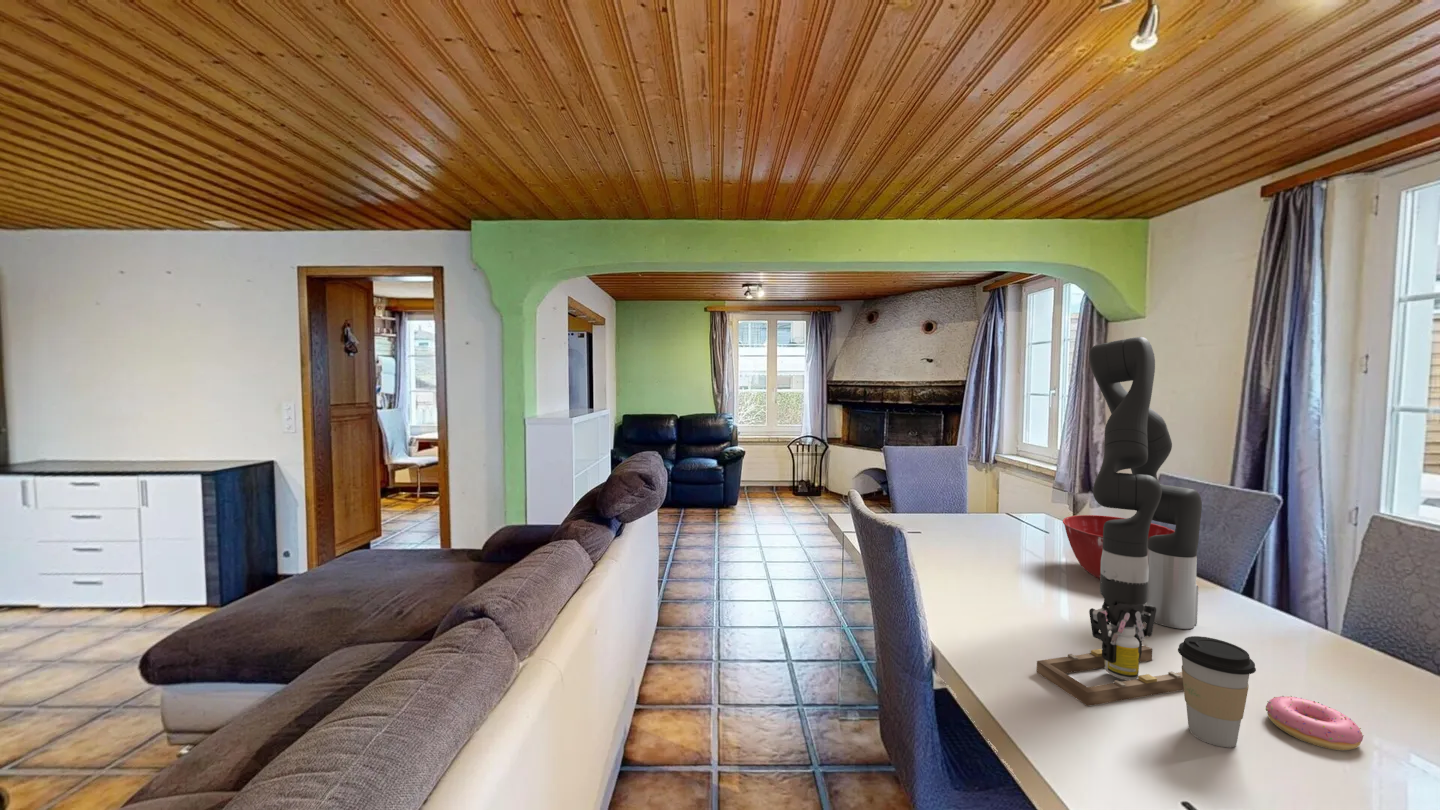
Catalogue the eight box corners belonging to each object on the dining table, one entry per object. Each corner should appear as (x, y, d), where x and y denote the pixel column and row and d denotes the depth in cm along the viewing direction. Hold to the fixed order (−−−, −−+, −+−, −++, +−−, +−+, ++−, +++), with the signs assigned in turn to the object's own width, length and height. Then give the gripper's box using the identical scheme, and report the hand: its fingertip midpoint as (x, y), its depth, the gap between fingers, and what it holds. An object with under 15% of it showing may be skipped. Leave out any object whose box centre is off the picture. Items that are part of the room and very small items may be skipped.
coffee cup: (1160, 719, 93) (1163, 635, 93) (1210, 716, 94) (1213, 632, 93) (1215, 757, 84) (1218, 663, 83) (1270, 754, 85) (1273, 660, 84)
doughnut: (1381, 750, 86) (1382, 725, 85) (1330, 760, 83) (1331, 734, 83) (1295, 709, 96) (1296, 687, 96) (1248, 717, 94) (1248, 694, 94)
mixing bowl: (1207, 596, 147) (1209, 540, 147) (1102, 595, 148) (1104, 540, 147) (1130, 561, 176) (1131, 515, 175) (1042, 561, 176) (1043, 514, 175)
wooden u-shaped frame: (1144, 656, 115) (1145, 642, 114) (1204, 686, 103) (1205, 670, 103) (1036, 672, 108) (1036, 657, 108) (1087, 706, 97) (1088, 689, 97)
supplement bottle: (1144, 682, 103) (1146, 632, 102) (1112, 679, 104) (1114, 629, 104) (1129, 668, 108) (1130, 620, 108) (1099, 665, 109) (1100, 617, 109)
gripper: (1134, 565, 111) (1132, 646, 111) (1077, 570, 107) (1074, 654, 108) (1172, 578, 103) (1169, 664, 104) (1112, 584, 100) (1109, 673, 101)
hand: (1121, 658), depth 106 cm, fingers closed on supplement bottle, 5 cm apart
